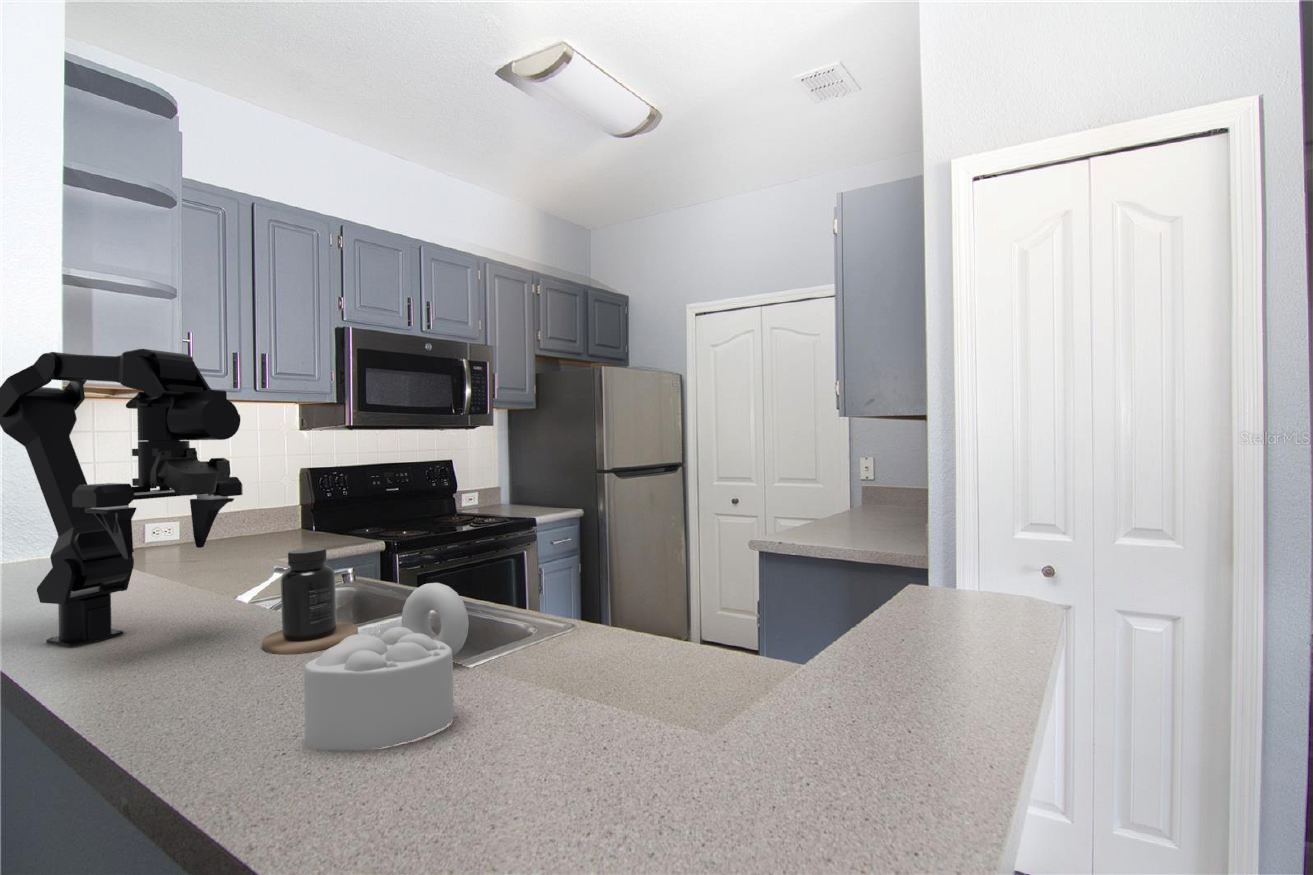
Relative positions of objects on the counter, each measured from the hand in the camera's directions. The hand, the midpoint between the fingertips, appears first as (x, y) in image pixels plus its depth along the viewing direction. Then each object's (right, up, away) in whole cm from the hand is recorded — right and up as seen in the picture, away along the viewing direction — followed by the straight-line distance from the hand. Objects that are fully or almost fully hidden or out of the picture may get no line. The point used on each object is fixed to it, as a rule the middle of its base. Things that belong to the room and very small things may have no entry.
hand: (165, 552), depth 89 cm
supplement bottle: (+19, -12, +2) cm, 23 cm away
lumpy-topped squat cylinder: (+42, -13, -26) cm, 50 cm away
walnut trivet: (+19, -13, +2) cm, 23 cm away
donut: (+40, -13, -8) cm, 43 cm away
